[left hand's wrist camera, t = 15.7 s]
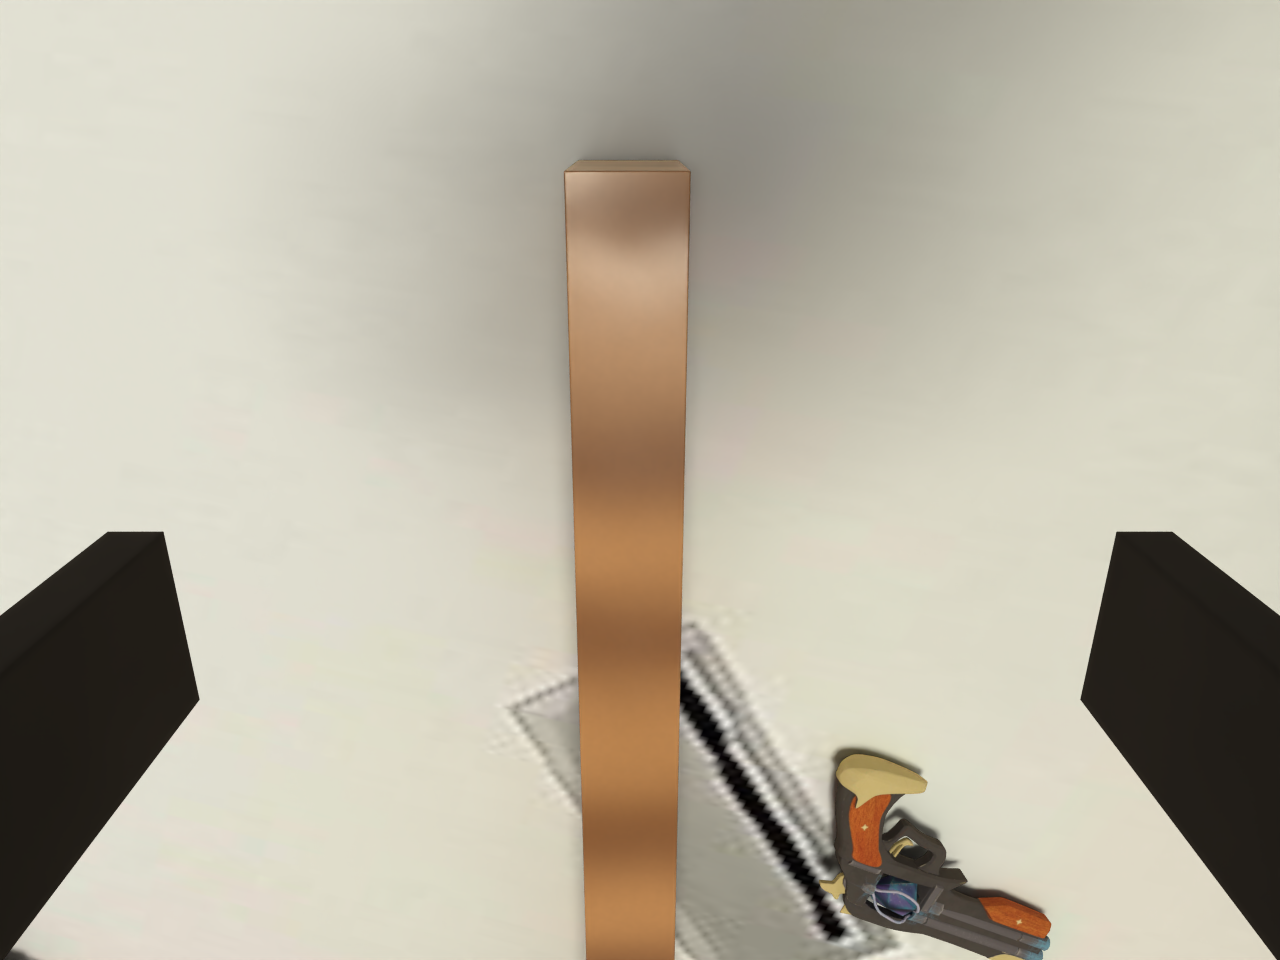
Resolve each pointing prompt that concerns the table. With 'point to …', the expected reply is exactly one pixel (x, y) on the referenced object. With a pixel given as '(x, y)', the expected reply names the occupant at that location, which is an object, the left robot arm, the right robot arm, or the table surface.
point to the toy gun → (916, 872)
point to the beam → (628, 536)
